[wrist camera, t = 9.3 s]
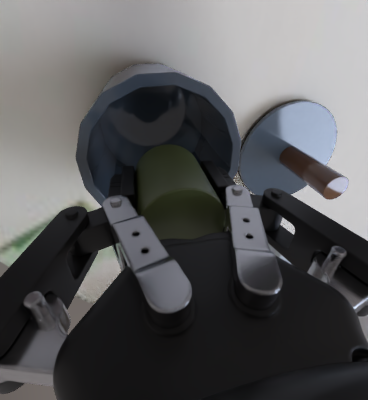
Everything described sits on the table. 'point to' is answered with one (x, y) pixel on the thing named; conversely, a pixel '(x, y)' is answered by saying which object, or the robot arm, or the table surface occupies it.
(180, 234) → the tin
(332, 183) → the lid
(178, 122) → the canister
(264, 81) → the table surface
